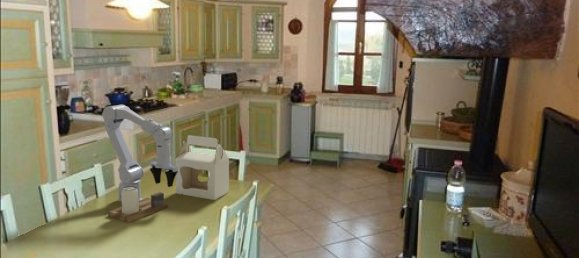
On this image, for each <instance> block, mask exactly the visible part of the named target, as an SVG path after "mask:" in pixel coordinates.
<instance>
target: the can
mask: <svg viewBox="0 0 579 258" xmlns="http://www.w3.org/2000/svg"><path fill="white" fill-rule="evenodd" d="M122 189H123V190H122V192H121V196H122V202H121V207H122V214H126V215H130V214H132V213H135V212H138V211H139V206H138V190H137V187H135V186H126V187H123V188H122Z"/></svg>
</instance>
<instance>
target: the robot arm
mask: <svg viewBox="0 0 579 258" xmlns="http://www.w3.org/2000/svg"><path fill="white" fill-rule="evenodd" d="M101 116H102V118H103V120H104V121H103V122H104V129H105V131H106V133H107V136H108V139H109V140H110V143H111V145H112V147H113V150H114V152H115V154H116V156H117V157H116V158H118V161H119V163H120V165H119V167H118V169H117V171H118V173H119V174H118V175H119V177H118V178H119V180H120V183H119V184H118V199H117V202H120V203H122V196H121V192H122V190H123V189H122V188H123V187H126V186H135V187H137V190H138V201H140V200H142V199H145V198H144V197H143V198H142V196H141V194H142V193H141V191H142V190H141V180H142V178H143V176H144V169H143V167H141V166H140V164H139V162H138V160H137V161H136V160H135V159H133V156H132V154H131V152H130V150H129V148H128V145H127V142H126V140H125V138H124V136H123V134H122V131H121V129H120V127H121V124H122V122H123V121H124V120H125V119H126V120H129V122H132V123H135V124H136V125H138V126H140V129H141V131H144V132H145V133H147V134H149V135H150V136H152V137H153V138H154V140H155V144H156V145H155V146H156V161H150V168H149V171H150V172H151V174H152V176H153V180H154V183H155V184H156V185H158V184H161V181H162V180H161V178H162V170H167V171H164V174H165V176H166V182H167V183H166V184H167V185H166V186H167V188H170V187H173V185H174V182H175V179H176V174H177V172H178V171H177V167H176V165H175V164H174V165H173V164H172V163H171V138H172V137H173V134H174V133H173V130H172V129H171V128H170V127H169V126H168V125H164V126H163V124H161V123H158V122H156V121H154V118H144V117H142V116H141V115H140V114H138V113H137V112H135V111H133V110H132V109H130V107H129V106H126V105H125V104H122V103H121V104H118V105H116V104H115V105H111V106H110V105H108V106H106V107H104V108H103V111H102V113H101Z"/></svg>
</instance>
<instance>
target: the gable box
mask: <svg viewBox="0 0 579 258" xmlns="http://www.w3.org/2000/svg"><path fill="white" fill-rule="evenodd" d="M219 141H220V140H219V139H218V138H217V137H209V136H203V135H193V134H189V135H187V138H186V140H183V142H182V145H181V147H180V150H179V151H178V153H177V155H176V156H175V166H176V167H177V171H178V172H177V174H176V176H175V194H176V195H177V194H178V195H182V194H183V195H184V196H189V197H194V198H200V199H207V200H211V201H216V200H217V199H220V198H221V197H223V196H225V195H227V194H228V193H230V158H229V156H228V154H227V152H226V151H225V150H224V148H223V144H220V143H219ZM192 145H193V146H200V147H201V146H202V147H209V148H215V155H214V154H208V153H200V152H199V153H198V152H193V151H192V149H191V146H192ZM199 170H204V171H207V172H208V173H209V176H208V179H207V180H206V181H201V180H199V178H198V177H199ZM183 195H182V196H183Z"/></svg>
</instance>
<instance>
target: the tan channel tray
mask: <svg viewBox="0 0 579 258" xmlns="http://www.w3.org/2000/svg"><path fill="white" fill-rule="evenodd" d="M138 206H139V211H138V212H135V213H132V214H130V215H126V214H122V206H120V207H117V208H114V209H111V210H108V211H107V215H108V217H110V218H113V219H116V220H120V221H122V222H126V223H131V222H133V221H136V220H139V219H141V218H143V217H146V216H149V215H152V214H154V213H157V212H158V211H162V210H164V209H167V208H168V202H165V193H164V192H160V191H159V192H156V193H154V194H151V195H150V197H145V198H144V199H142V200H140V201H138Z"/></svg>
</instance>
